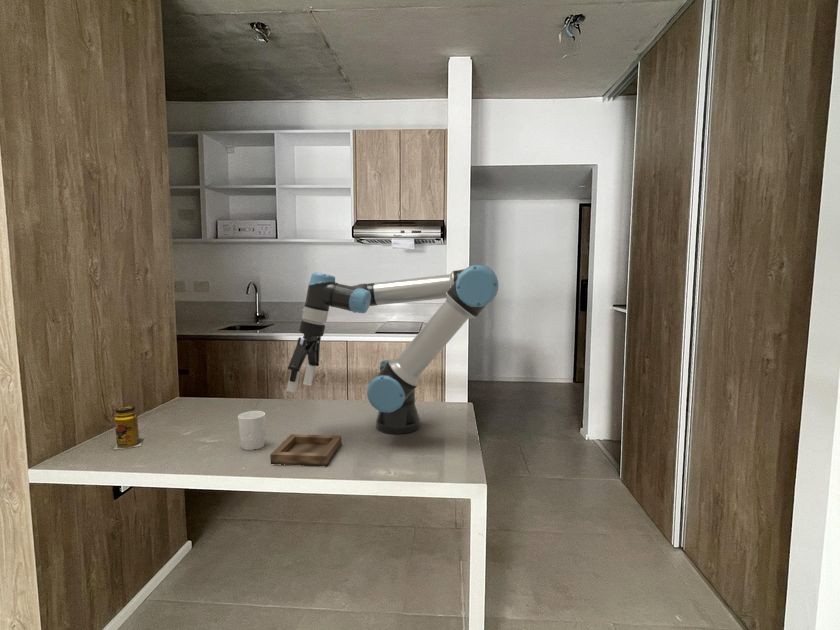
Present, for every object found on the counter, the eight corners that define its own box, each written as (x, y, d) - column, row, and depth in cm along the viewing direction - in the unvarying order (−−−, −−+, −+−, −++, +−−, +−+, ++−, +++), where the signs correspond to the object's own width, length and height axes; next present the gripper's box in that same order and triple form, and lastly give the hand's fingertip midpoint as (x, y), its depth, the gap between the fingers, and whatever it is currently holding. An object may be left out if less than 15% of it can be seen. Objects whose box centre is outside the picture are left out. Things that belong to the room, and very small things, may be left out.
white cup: (271, 443, 153) (270, 412, 152) (255, 452, 145) (254, 419, 144) (250, 440, 155) (249, 409, 154) (233, 449, 148) (232, 417, 147)
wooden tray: (341, 445, 151) (341, 435, 150) (326, 466, 135) (326, 456, 135) (291, 443, 152) (290, 434, 152) (270, 464, 137) (270, 454, 136)
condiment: (113, 450, 148) (110, 412, 147) (118, 441, 156) (115, 404, 155) (140, 446, 151) (137, 408, 150) (144, 437, 159) (141, 401, 157)
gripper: (315, 318, 165) (302, 379, 166) (286, 320, 140) (271, 391, 141) (336, 323, 164) (323, 384, 165) (310, 326, 140) (295, 398, 140)
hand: (299, 388), depth 153 cm, fingers open, 13 cm apart
